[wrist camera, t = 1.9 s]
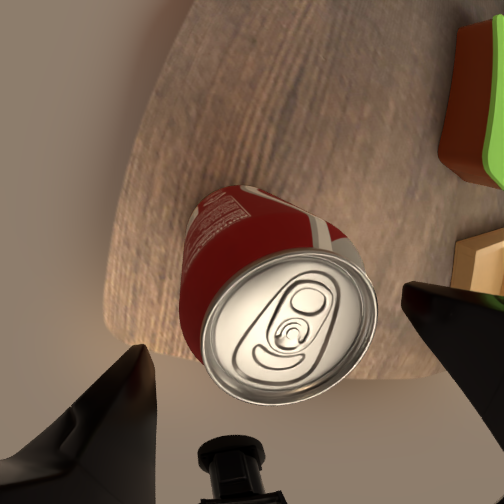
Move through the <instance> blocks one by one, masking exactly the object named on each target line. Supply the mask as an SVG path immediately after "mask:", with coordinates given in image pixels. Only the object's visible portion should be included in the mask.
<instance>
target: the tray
mask: <svg viewBox="0 0 504 504" xmlns="http://www.w3.org/2000/svg"><path fill="white" fill-rule="evenodd" d="M450 287H452V288H458V289H464V290H470V291H475V292H481V293H487V294H492V295H499V296H504V228H501V229H497V230H494V231H491V232H488V233H484V234H481V235H478V236H474V237H471V238H468V239H464V240H461V241H457V242H456V246H455V255H454V264H453V272H452V279H451V286H450Z"/></svg>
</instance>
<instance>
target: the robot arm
mask: <svg viewBox="0 0 504 504" xmlns="http://www.w3.org/2000/svg"><path fill="white" fill-rule="evenodd" d="M401 307H402V310H403V312H404V313H405V314H406V316H407V317H408V319H409V320H410V322H411V323H412V325H413V326H414V328H415V329H416V331H417V332H418V334H419V335H420V337H421V338H422V340H423V341H424V342H425V343H426V345H427V346H428V347H429V348H430V350H431V351H432V352H433V353H434V355H435V356H436V357H437V358H438V360H439V361H440V362H441V364H442V365H443V366H444V367H445V369H446V370H447V371H448V373H449V374H450V375H451V377H452V378H453V379H454V380H455V382H456V383H457V384H458V386H459V387H460V388H461V390H462V391H463V392H464V394H465V395H466V397H467V398H468V399H469V401H470V402H471V404H472V405H473V406H474V408H475V409H476V411H477V412H478V414H479V415H480V416H481V417H482V419H483V421H484V422H485V424H486V425H487V427H488V428H489V430H490V431H491V433H492V434H493V436H494V438H495V439H496V441H497V442H498V444H499V445H500V447H501V448H502V450H503V451H504V296H499V295H492V294H487V293H481V292H475V291H470V290H464V289H458V288H452V287H446V286H440V285H434V284H428V283H422V282H416V281H411V282H408V283H405V284H404V285H403V289H402V299H401ZM155 382H156V381H155V367H154V364H153V361H152V359H151V356H150V354H149V351H148V349H147V347H146V345H145V344H139V345H133V346H132V347H131V348H130V349H129V350H127V351H126V352H125V353H124V354H123V355H122V356H121V357H120V358H119V360H117V361H116V362H115V363H114V364H113V365H112V366H111V367H110V368H109V369H108V370H107V371H106V372H105V373H104V374H103V375H102V376H101V377H100V378H99V379H98V380H97V381H96V382H95V383H94V384H92V385H91V386H90V387H89V388H88V389H87V390H86V391H85V392H84V393H83V394H82V395H81V396H80V397H79V398H78V399H77V400H76V401H75V402H74V403H73V404H72V405H71V407H69V408H68V409H67V410H66V411H65V412H64V413H63V414H62V415H61V416H60V417H59V418H58V419H57V420H56V421H54V422H53V423H52V424H51V425H50V426H49V427H48V428H46V429H45V430H44V431H43V432H42V433H41V434H40V435H38V436H37V437H36V438H35V439H33V440H32V441H31V442H30V443H29V444H27V445H26V446H25V447H24V448H22V449H21V450H20V451H19V452H18V453H16V454H15V455H13V456H11V457H9V458H6V459H3V460H0V504H155V454H156V453H155V452H156V451H155V450H156V425H157V399H156V383H155ZM200 459H201V461H202V463H203V464H204V466H205V468H206V470H207V471H208V473H209V475H210V479H211V487H212V493H213V499H201V503H199V504H287V502H286V500H285V498H284V496H283V494H282V492H281V490H280V491H276V492H273V493H267V494H266V493H265V490H264V486H263V483H262V479H261V475H260V472H259V471H261V470H262V467H261V462H260V459H259V455H258V451H257V447H256V446H255V445H249V446H245V447H239V448H234V449H228V450H223V451H216V452H210V453H203V454H200ZM495 504H504V495H503V496H502V497H501V498H500V499H499V500H498V501H497V502H496V503H495Z"/></svg>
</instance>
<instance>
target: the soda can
mask: <svg viewBox="0 0 504 504" xmlns="http://www.w3.org/2000/svg"><path fill="white" fill-rule="evenodd" d="M179 319H180V324H181V329H182V332H183V336H184V338H185V340H186V343H187V345H188V346H189V348H190V350H191V351H192V353H193V354H194V355H195V357H196V358H197V359H198V360H199V361H200V362H201V363H202V364H203V365H204V366H205V368H206V370H207V372H208V374H209V376H210V377H211V379H212V380H213V381H214V382H215V383H216V385H218V386H219V388H221V389H222V390H223V391H224V392H226V393H227V394H229V395H231V396H232V397H234V398H236V399H238V400H241V401H244V402H247V403H250V404H256V405H262V406H282V405H288V404H293V403H298V402H302V401H305V400H308V399H310V398H313V397H315V396H317V395H320V394H322V393H323V392H325V391H327V390H329V389H330V388H332V387H333V386H335V385H336V384H338V383H339V382H340V381H341V380H343V379H344V378H345V377H346V376H347V375H348V374H349V373H350V372H351V371H352V370H353V369H354V368H355V367H356V366H357V365H358V363H359V362H360V361H361V359H362V358H363V356H364V355H365V353H366V352H367V350H368V348H369V346H370V344H371V342H372V339H373V337H374V334H375V330H376V326H377V321H378V303H377V297H376V293H375V290H374V288H373V286H372V284H371V282H370V280H369V278H368V277H367V276H366V271H365V268H364V264H363V262H362V259H361V257H360V255H359V253H358V251H357V249H356V248H355V246H354V245H353V243H352V242H351V241H350V240H349V239H348V237H347V236H346V235H345V234H343V233H342V232H341V231H340V230H339V229H338V228H336V227H335V226H333V225H332V224H330V223H328V222H326V221H325V220H323V219H321V218H319V217H317V216H315V215H313V214H311V213H309V212H307V211H305V210H303V209H301V208H299V207H297V206H295V205H293V204H291V203H288V202H286V201H284V200H282V199H280V198H278V197H276V196H274V195H272V194H270V193H268V192H265V191H263V190H261V189H259V188H256V187H252V186H246V185H234V186H228V187H224V188H221V189H219V190H216V191H214V192H213V193H211V194H209V195H208V196H207V197H205V198H204V199H203V200H202V201H201V202H200V203H199V204H198V205H197V206H196V208H195V209H194V211H193V213H192V214H191V216H190V219H189V221H188V224H187V228H186V234H185V244H184V253H183V264H182V275H181V287H180V300H179Z"/></svg>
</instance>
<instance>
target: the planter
mask: <svg viewBox="0 0 504 504" xmlns="http://www.w3.org/2000/svg"><path fill="white" fill-rule="evenodd" d="M438 157H439V159H440V161H441V162H442V163H443V164H444V165H445V166H447V167H448V168H449V169H450V170H452V171H453V172H454V173H455V174H457V175H458V176H459V177H460V178H461V179H463V180H464V181H466V182H469V183H474V184H479V185H483V186H488V187H492V188H496V189H500V190H503V191H504V16H503V15H501V14H499V15H496V16H493V19H490V20H486V21H482V22H478V23H474V24H470V25H467V26H463V27H461V28H459V29H458V32H457V41H456V52H455V61H454V69H453V77H452V83H451V90H450V96H449V101H448V107H447V112H446V117H445V121H444V126H443V131H442V135H441V139H440V143H439V147H438Z"/></svg>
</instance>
